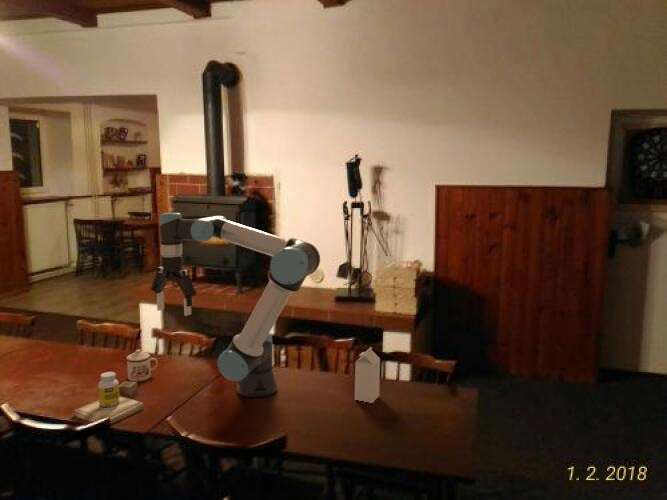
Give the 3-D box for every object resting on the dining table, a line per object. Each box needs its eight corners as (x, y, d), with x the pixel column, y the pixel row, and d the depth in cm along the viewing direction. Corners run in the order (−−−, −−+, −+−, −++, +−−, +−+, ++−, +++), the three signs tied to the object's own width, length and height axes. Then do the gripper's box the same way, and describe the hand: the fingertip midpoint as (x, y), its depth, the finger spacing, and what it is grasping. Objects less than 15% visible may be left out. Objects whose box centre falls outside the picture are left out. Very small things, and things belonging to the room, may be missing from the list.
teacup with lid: (129, 383, 212) (128, 355, 211) (125, 376, 220) (124, 348, 218) (160, 378, 218) (159, 350, 216) (155, 370, 226) (154, 344, 224)
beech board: (144, 408, 191) (143, 402, 191) (105, 427, 177) (105, 420, 177) (113, 398, 199) (113, 393, 198) (74, 415, 185) (73, 409, 184)
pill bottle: (100, 411, 183) (98, 379, 181) (98, 404, 189) (96, 372, 187) (120, 407, 186) (118, 375, 184) (118, 400, 192) (116, 369, 190)
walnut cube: (137, 394, 203) (137, 382, 202) (130, 400, 198) (129, 387, 197) (125, 393, 203) (124, 381, 203) (118, 399, 199) (117, 386, 198)
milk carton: (379, 397, 202) (380, 348, 199) (372, 404, 196) (373, 354, 193) (361, 393, 205) (362, 345, 202) (354, 400, 199) (355, 351, 196)
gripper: (205, 256, 192) (206, 314, 196) (155, 251, 204) (157, 305, 208) (190, 260, 186) (192, 319, 189) (139, 253, 198) (142, 310, 201)
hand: (174, 312), depth 198 cm, fingers open, 13 cm apart
